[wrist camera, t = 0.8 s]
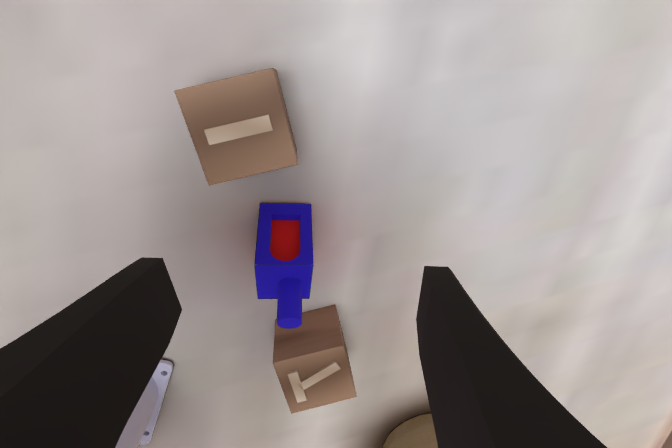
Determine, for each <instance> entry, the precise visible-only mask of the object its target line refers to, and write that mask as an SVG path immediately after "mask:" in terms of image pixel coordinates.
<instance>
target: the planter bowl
mask: <svg viewBox="0 0 672 448" xmlns="http://www.w3.org/2000/svg"><path fill="white" fill-rule="evenodd" d="M383 448H438V445H437V439H436V434H435V429H434V424H433V419H432V414H431V413H430V414H424V415H420V416H417V417H414V418H411V419H409V420H407V421H405V422H404V423H402V424H401V425H399V426H398V427H396V428H395V429H394V430H393V431H392V432H391V433H390V434H389V436H388V437H387V439H386V441H385V443H384V445H383Z"/></svg>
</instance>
